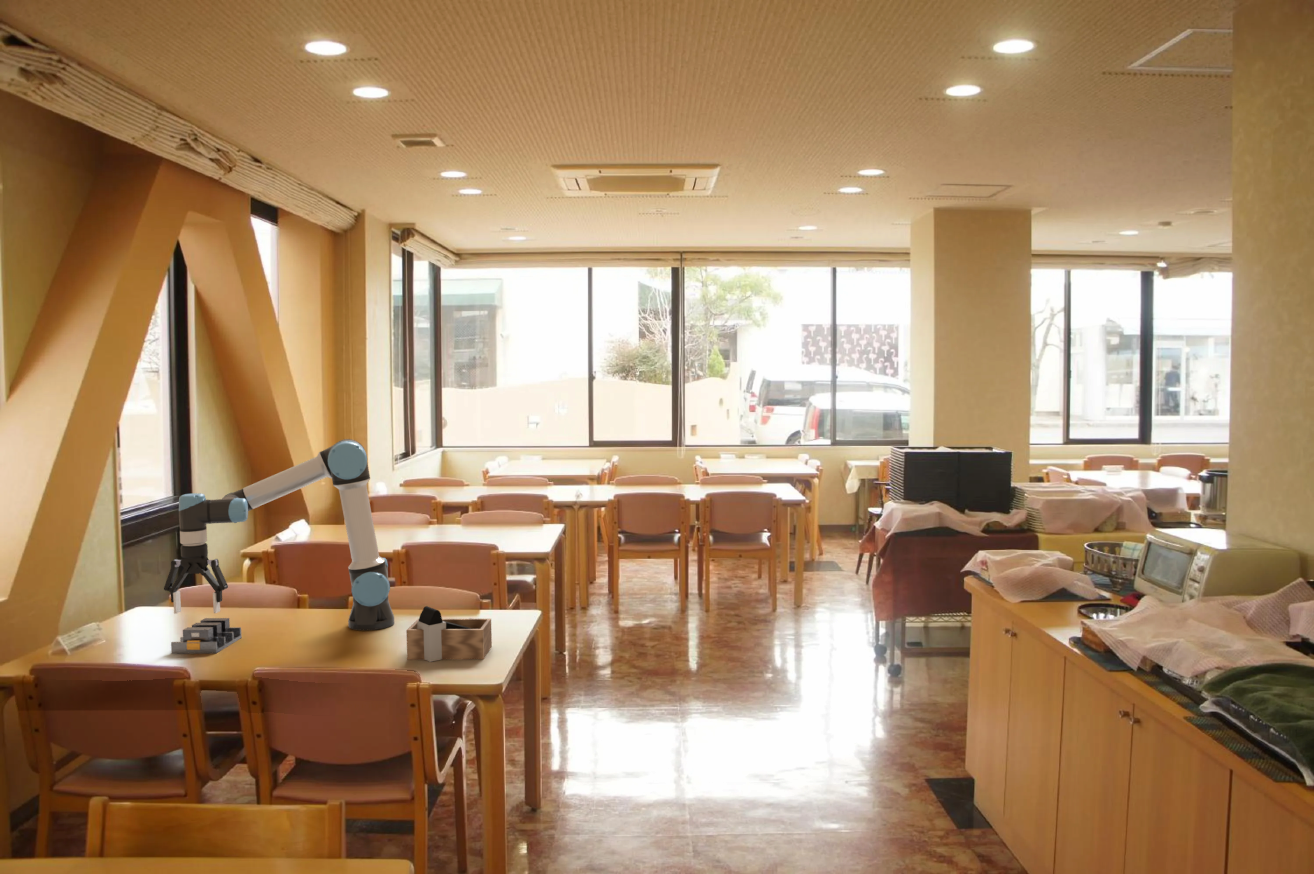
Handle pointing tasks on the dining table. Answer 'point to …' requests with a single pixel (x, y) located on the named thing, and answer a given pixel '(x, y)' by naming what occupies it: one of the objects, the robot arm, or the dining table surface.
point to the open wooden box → (454, 640)
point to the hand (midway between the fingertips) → (197, 612)
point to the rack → (221, 638)
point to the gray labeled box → (198, 634)
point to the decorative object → (434, 632)
